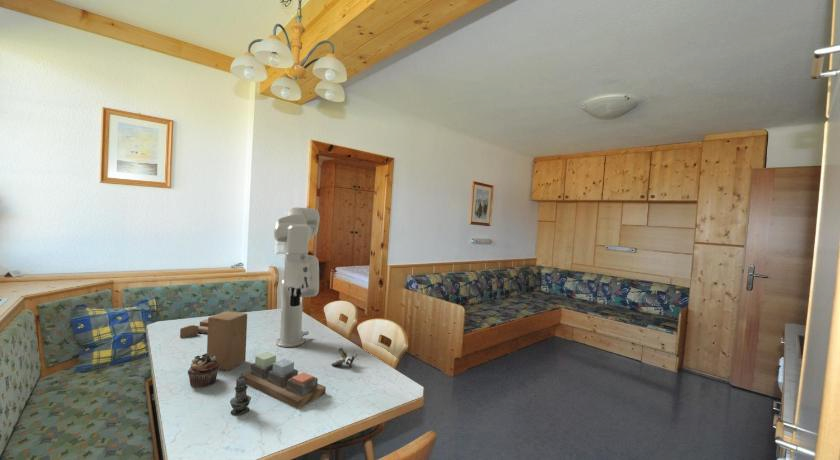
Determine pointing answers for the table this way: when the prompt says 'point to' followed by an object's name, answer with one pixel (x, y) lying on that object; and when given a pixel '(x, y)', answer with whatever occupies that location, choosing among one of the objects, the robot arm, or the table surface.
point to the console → (284, 386)
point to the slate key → (283, 367)
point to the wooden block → (227, 338)
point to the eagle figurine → (344, 358)
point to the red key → (302, 378)
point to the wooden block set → (194, 329)
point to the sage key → (265, 360)
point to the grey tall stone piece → (240, 397)
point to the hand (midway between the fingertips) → (294, 305)
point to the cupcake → (203, 371)
